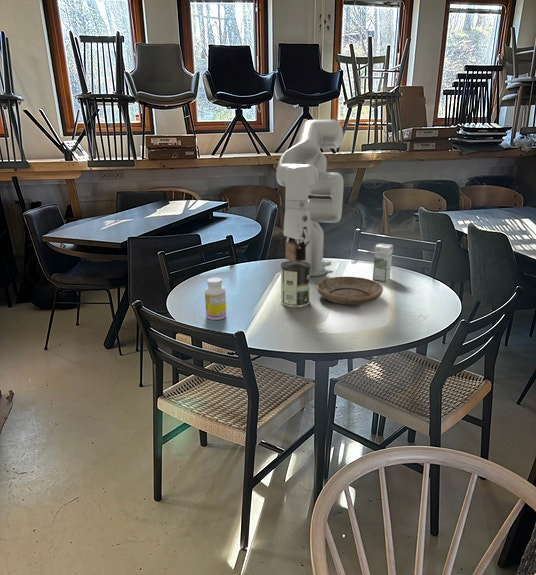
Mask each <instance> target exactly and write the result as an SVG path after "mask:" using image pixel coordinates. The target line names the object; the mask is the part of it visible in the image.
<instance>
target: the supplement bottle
mask: <svg viewBox="0 0 536 575" xmlns="http://www.w3.org/2000/svg"><path fill="white" fill-rule="evenodd" d="M206 282H207V284H206V285H207V286H206V288H205V289H204V300H205V301H204V302H205V303H204V304H205V315H206V318H207V319H209V320H213V321H219V320H222V319H225V317H226V316H227V302H226V301H227V300H226V299H227V298H226V297H227V296H226V287H225V286H223V285H222V284H223V279H222V278H220V277H210V278H207V280H206Z"/></svg>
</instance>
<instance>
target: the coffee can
mask: <svg viewBox="0 0 536 575" xmlns="http://www.w3.org/2000/svg"><path fill="white" fill-rule="evenodd" d="M310 266H311V265H310V263H308V262H304V261H298V262H292V261H289V260H287V261H284V262H282V263H281V264H280V269H281V270H280V271H281V272H280V274H281V275H280V276H281V279H280V281H281V282H280V288H281V290H280V292H281V293H280V295H281V297H280V298H281V299H280V303H281V304H282V306H285V307H289V308H304V307H307V306H309V304H310V286H311V285H310V284H311V282H310V281H311V276H310Z"/></svg>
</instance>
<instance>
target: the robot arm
mask: <svg viewBox="0 0 536 575" xmlns="http://www.w3.org/2000/svg"><path fill="white" fill-rule="evenodd" d="M343 142H344V131H343V127H342V125H341V123H340V122H339V121H337V120H336V119H323V118H322V119H321V118H320V119H309V120H306V121H305V122H304V123H303V124H302V126H301V128H300V131H299V136H298V139H297V143H296V144H295V145H292V146H291V147H290V148H289V149H287V150H286V151H285V152H284V153H282V155H281V156H280V159H279V161H278V165H277V169H276V173H275V174H276V176H275V178H276V182H277V184H278V185H280V186H282V187H285V198H284V199H285V202H284V204H285V210H284V218H283V232H282V234H283V236H284V239H285V243H286V242H289V241H296V240H297V247H298V249H296V260H303V259H305V248H306V260H304V262H308V263H310V265H311V266H310V277H319V276H323V275H325V274H326V273H327V272H326V268H327V267H329V266H331V265H332V262H331V261H330V260H329V261H325V260H324V259H323V258H324V230H323V228H322V226H321V225H320V223H327V224H329V223H330V224H331V223H333V224H335V223H339V222H340V220H341V219H342V214H343V213H342V212H343V203H344V202H343V200H344V178H343V175H342V174H341V173H339V172H332V171H331V172H327V165H328V164H327V163H328V162H327V160H328V159H327V158H326V156H325V155H324V153H323V152H322V151H321V149H338V148H339V149H340V147H342V144H343ZM309 196H312V197H313V196H314V197H330V198H309ZM300 241H301V242H302V243H301V244H300Z"/></svg>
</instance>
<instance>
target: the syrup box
mask: <svg viewBox="0 0 536 575" xmlns="http://www.w3.org/2000/svg"><path fill="white" fill-rule="evenodd" d="M393 249H394V245H393V244H389V243H388V244H386V243H377V244H376V245H374V259H373V260H374V262H373V271H372V272H373V273H372V281H379V282H384V283H385V282H388V281H389V280H390V279H391V270H392V269H391V268H392V258H393ZM389 278H390V279H389ZM388 279H389V280H388Z"/></svg>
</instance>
